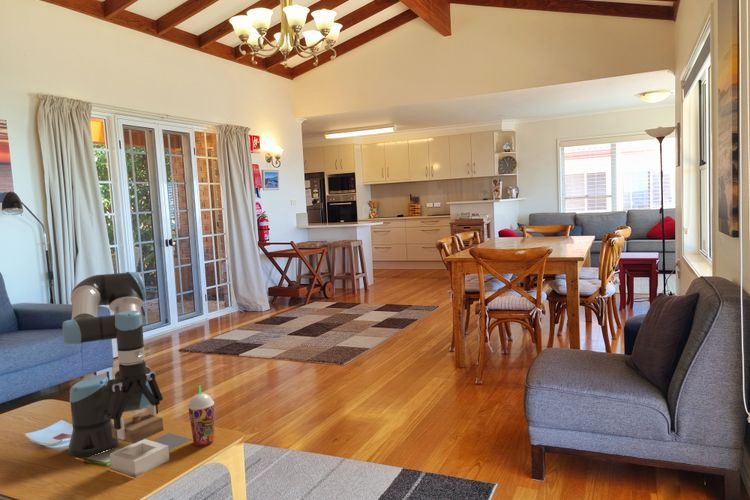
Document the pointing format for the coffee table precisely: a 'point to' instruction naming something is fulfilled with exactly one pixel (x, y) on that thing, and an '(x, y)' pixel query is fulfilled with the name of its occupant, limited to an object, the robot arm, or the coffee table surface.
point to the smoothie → (202, 418)
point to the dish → (139, 457)
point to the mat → (171, 440)
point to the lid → (139, 427)
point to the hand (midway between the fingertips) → (137, 431)
